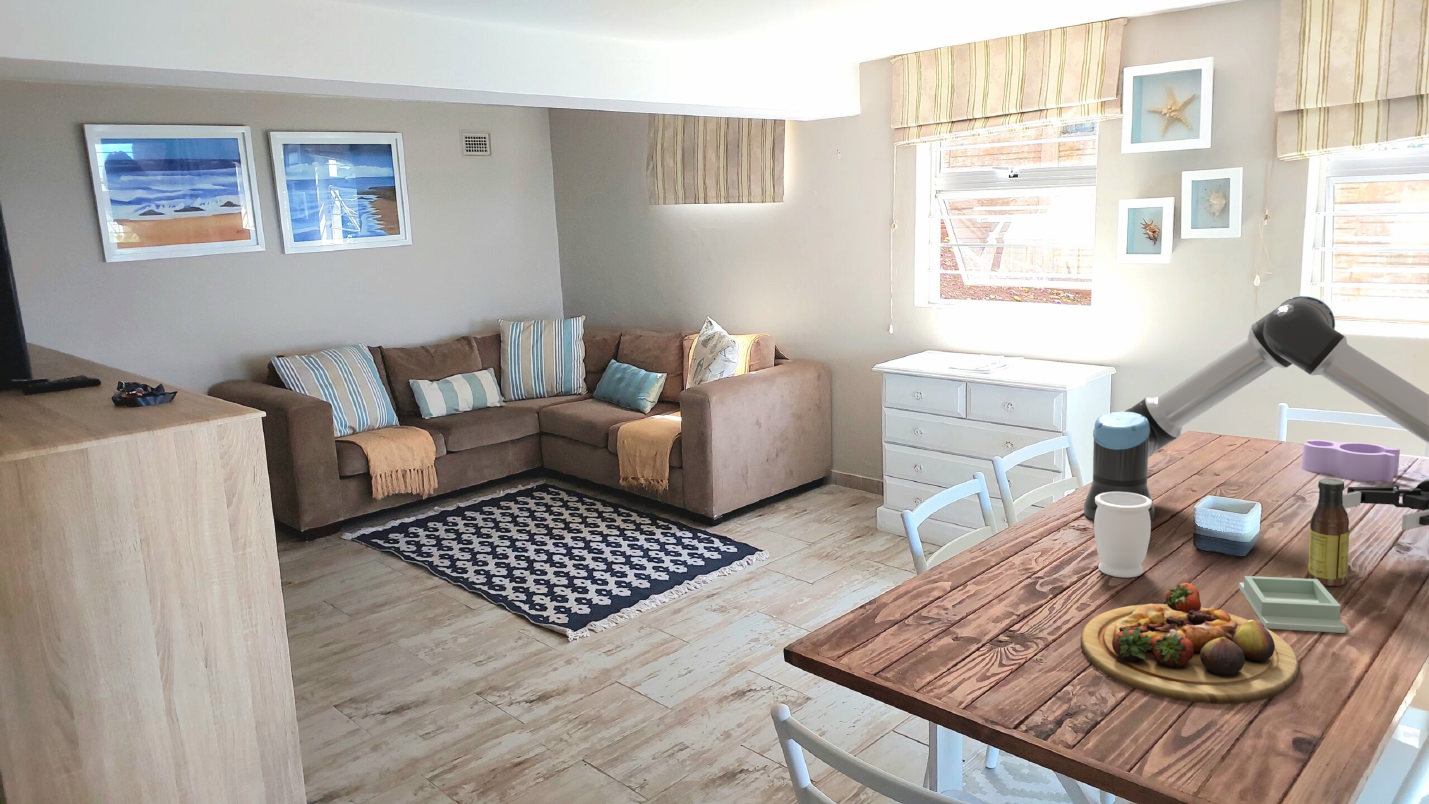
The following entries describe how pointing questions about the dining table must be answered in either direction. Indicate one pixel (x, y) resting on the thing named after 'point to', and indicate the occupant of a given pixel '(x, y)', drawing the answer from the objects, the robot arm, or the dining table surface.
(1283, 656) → the wooden plate with food
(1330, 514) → the sauce bottle
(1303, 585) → the stand
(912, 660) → the dining table surface
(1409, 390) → the robot arm
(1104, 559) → the jar
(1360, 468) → the purple holder
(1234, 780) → the dining table surface
